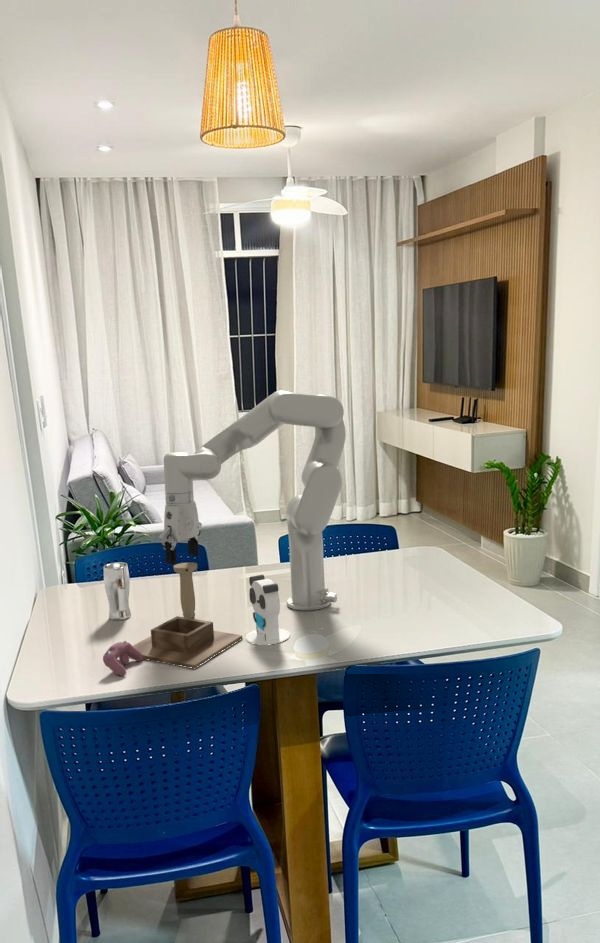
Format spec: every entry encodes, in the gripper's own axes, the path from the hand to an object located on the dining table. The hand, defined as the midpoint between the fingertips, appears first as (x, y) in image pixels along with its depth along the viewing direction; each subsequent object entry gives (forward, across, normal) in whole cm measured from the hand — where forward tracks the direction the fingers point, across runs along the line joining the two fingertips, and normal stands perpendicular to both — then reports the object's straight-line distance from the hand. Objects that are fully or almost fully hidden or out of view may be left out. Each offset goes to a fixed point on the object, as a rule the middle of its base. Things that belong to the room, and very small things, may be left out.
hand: (182, 559), depth 209 cm
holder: (+17, -17, -13) cm, 27 cm away
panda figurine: (+16, -3, -29) cm, 33 cm away
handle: (+17, +1, -1) cm, 17 cm away
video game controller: (+18, -33, -7) cm, 38 cm away
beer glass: (+17, -6, +18) cm, 26 cm away
